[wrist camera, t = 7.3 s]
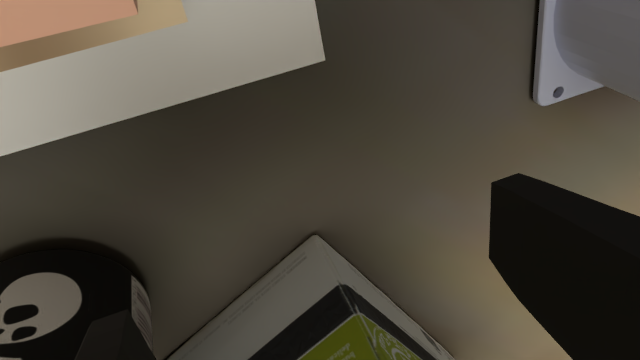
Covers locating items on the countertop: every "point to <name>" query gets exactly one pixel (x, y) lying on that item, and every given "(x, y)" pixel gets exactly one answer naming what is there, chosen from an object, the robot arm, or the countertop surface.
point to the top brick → (56, 16)
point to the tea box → (312, 317)
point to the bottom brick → (94, 34)
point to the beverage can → (63, 302)
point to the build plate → (157, 68)
